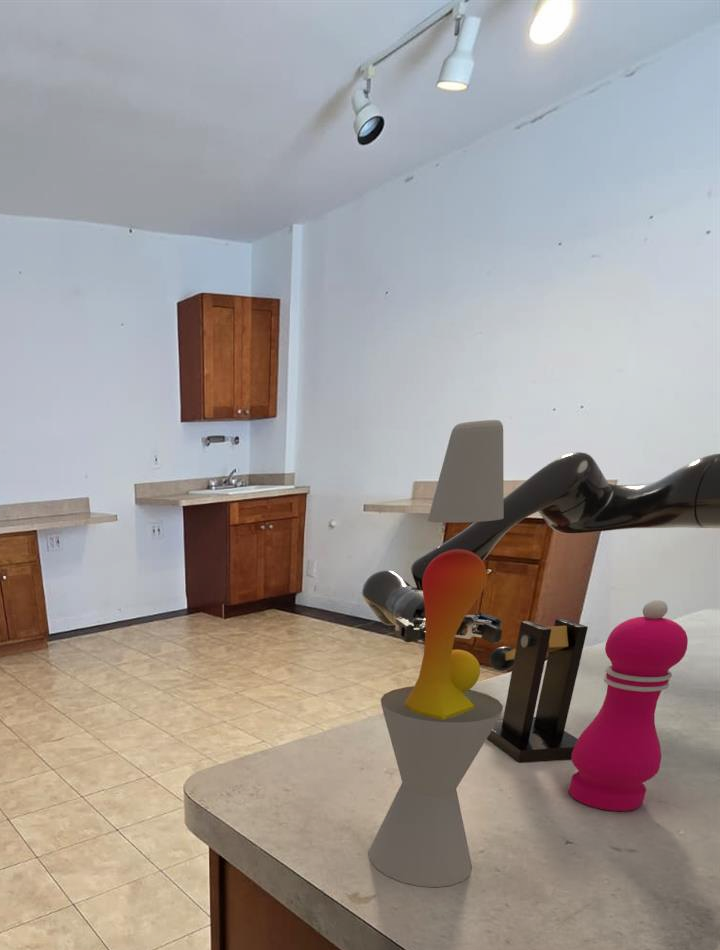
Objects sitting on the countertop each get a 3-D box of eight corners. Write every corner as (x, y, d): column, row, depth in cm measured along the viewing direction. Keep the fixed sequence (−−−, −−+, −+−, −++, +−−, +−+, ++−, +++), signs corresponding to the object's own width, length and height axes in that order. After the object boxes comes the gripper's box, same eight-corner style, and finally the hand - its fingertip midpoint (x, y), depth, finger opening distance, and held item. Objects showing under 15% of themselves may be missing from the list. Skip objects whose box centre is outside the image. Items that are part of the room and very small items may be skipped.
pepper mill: (658, 818, 61) (724, 608, 53) (571, 809, 64) (621, 607, 55) (635, 785, 67) (691, 592, 59) (556, 778, 70) (599, 592, 61)
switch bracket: (476, 731, 83) (495, 617, 77) (538, 727, 83) (562, 612, 77) (518, 762, 74) (543, 636, 68) (587, 758, 74) (619, 631, 68)
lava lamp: (430, 901, 52) (504, 415, 37) (345, 854, 59) (378, 429, 44) (496, 863, 56) (585, 412, 41) (408, 823, 63) (458, 426, 49)
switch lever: (485, 674, 85) (483, 650, 85) (510, 672, 84) (507, 648, 85) (545, 651, 72) (542, 623, 72) (573, 649, 71) (571, 621, 72)
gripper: (382, 595, 105) (421, 615, 90) (469, 589, 105) (522, 608, 90) (378, 640, 108) (415, 666, 94) (462, 634, 108) (513, 660, 93)
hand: (468, 638), depth 92 cm, fingers open, 8 cm apart
